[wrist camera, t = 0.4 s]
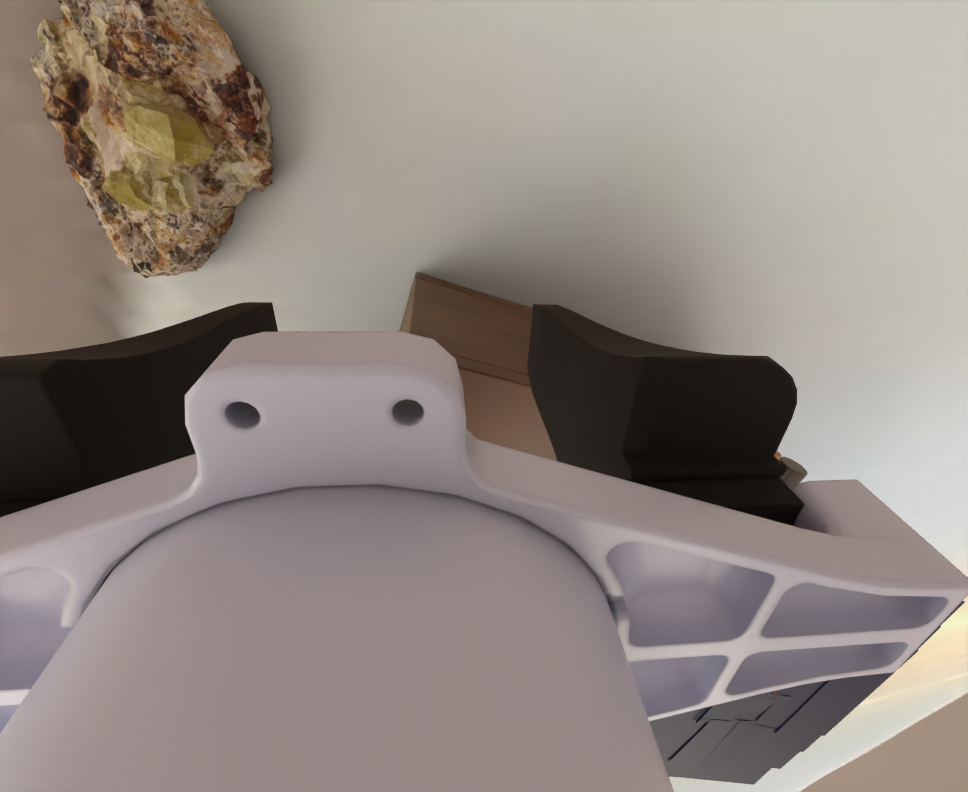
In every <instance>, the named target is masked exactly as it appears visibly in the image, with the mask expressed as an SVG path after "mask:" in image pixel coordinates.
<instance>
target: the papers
mask: <svg viewBox="0 0 968 792" xmlns="http://www.w3.org/2000/svg"><path fill="white" fill-rule="evenodd" d="M963 603H964V601H962V602H961V603H960V604H959V605H958V606H957V607H956V608H955V609H954V610H953V611H952V612H951V613H950V614H949V616H948V617H947V618H946V619H945V620H944V621H943V622H945V621H946V620H947V619H948V618H949V617H950V616H951V615H952V614H953V613H954V612H955V611H956V610H957V609H958V608H959V607H960V606H961V605H962V604H963ZM943 622H942V623H943ZM942 623H941V624H942ZM941 624H940V625H941ZM940 625H939V626H938V627H937V628H936V629H935V630H934V631H933V632H932V634H931V635H930V636H929V637H928V638H927V639H926V640H925V641H924V642H923V643H922V644H921V645H920V646H919V647H918V648H917V649H916V650H915V651H914V653H913V654H912V655H911V656H910V657H909V658H908V659H907V660H909V659H910V658H911V657H912V656H913V655H914V654H915V653H916V652H917V651H918V649H919V648H920V647H921V646H922V645H923V644H924V643H925V642H926V641H927V640H928V639H929V638H930V637H931V636H932V635H933V634H934V633H935V632H936V631H937V630H938V629H939V628H940V627H941V626H940ZM907 660H906V661H907ZM906 661H905V662H906ZM905 662H904V663H905ZM904 663H903V664H904ZM903 664H902V665H903ZM902 665H901V666H902ZM901 666H900V667H901ZM900 667H899V668H900ZM899 668H898V669H899ZM893 673H894V672H893ZM893 673H882V674H873V675H864V676H855V677H846V678H839V679H833V680H827V681H821V682H815V683H809V684H803V685H799V686H794V687H790V688H785V689H780V690H776V691H771V692H767V693H762V694H758V695H754V696H750V697H746V698H742V699H738V700H734V701H730V702H726V703H721V704H717V705H713V706H709V707H705V708H701V709H697V710H693V711H689V712H685V713H681V714H677V715H673V716H669V717H665V718H660V719H656V720H652V721H649V722H650V725H651V728H652V731H653V734H654V737H655V739H656V742H657V745H658V748H659V751H660V754H661V757H662V760H663V762H664V765H665V768H666V771H667V774H668V776H671V777H684V778H694V779H704V780H714V781H724V782H734V783H744V784H755V783H756V782H757V781H758V780H759V779H760V778H761V777H762V776H763V775H764V774H766V773H767V772H768V771H769V770H770V769H771V768H778V769H780V768H782V767H783V766H784V765H785V764H786V763H787V762H788V761H790V760H791V759H792V758H793V757H794V756H795V755H796V754H798V753H799V752H800V751H801V752H803V751H805V750H806V749H807V748H808V747H809V746H810V745H811V744H812V743H813V742H815V741H816V740H817V739H818V738H819V737H820V736H821V735H823V736H825V735H826V734H827V733H828V732H829V731H830V730H831V729H832V728H833V727H835V726H836V725H837V724H838V723H839V722H840V721H841V720H842V719H843V718H844V717H846V716H847V715H848V714H849V713H850V712H851V711H852V710H853V709H854V708H855V707H857V706H858V705H859V704H860V703H861V702H862V701H863V700H864V699H865V698H867V697H868V696H869V695H870V694H871V693H872V692H873V691H874V690H875V689H876V688H878V687H879V686H880V685H881V684H882V683H883V682H884V681H885V680H886V679H888V678H889V677H890V676H891V675H892V674H893Z"/></svg>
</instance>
